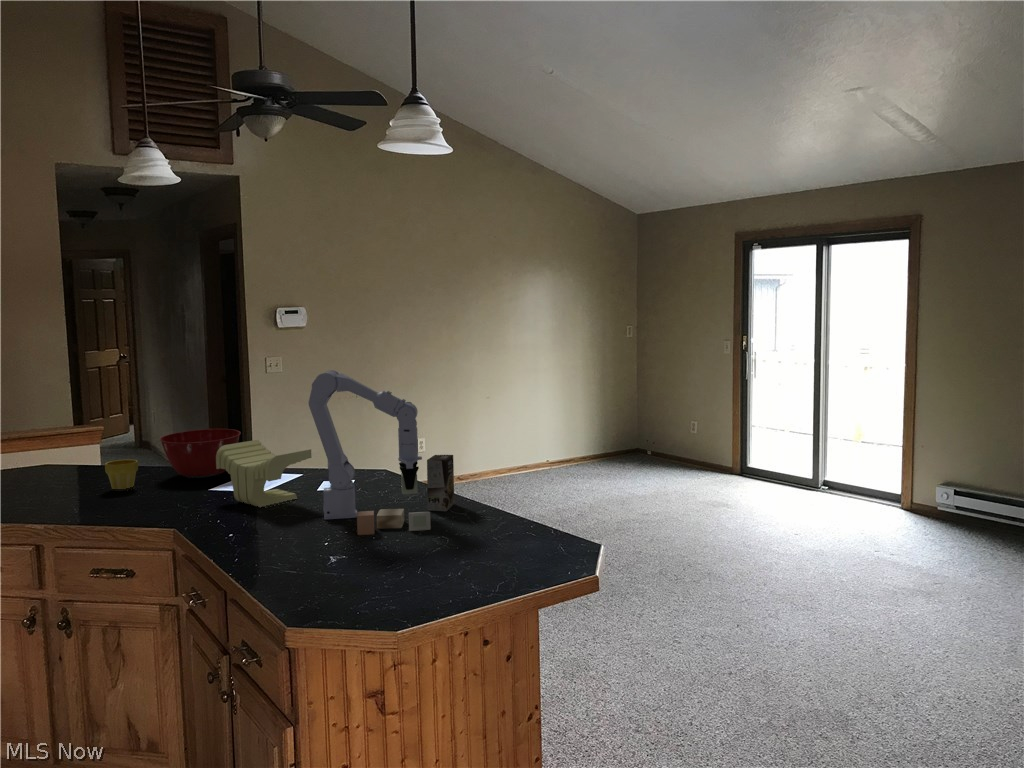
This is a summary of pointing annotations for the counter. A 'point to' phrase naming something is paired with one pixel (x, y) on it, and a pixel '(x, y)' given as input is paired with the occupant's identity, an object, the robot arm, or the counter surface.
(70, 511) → the counter surface
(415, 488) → the sage block
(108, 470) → the plant pot
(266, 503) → the slatted curved stool
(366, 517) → the terracotta block
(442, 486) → the coffee box
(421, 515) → the placard
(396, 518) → the birch base block
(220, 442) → the mixing bowl
